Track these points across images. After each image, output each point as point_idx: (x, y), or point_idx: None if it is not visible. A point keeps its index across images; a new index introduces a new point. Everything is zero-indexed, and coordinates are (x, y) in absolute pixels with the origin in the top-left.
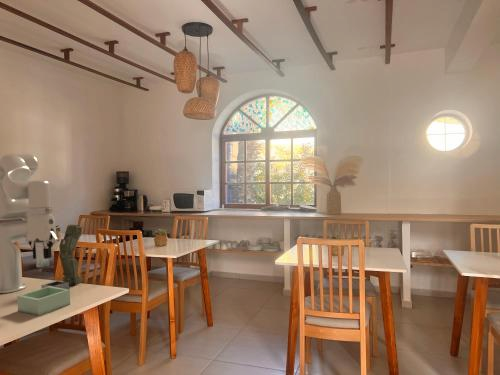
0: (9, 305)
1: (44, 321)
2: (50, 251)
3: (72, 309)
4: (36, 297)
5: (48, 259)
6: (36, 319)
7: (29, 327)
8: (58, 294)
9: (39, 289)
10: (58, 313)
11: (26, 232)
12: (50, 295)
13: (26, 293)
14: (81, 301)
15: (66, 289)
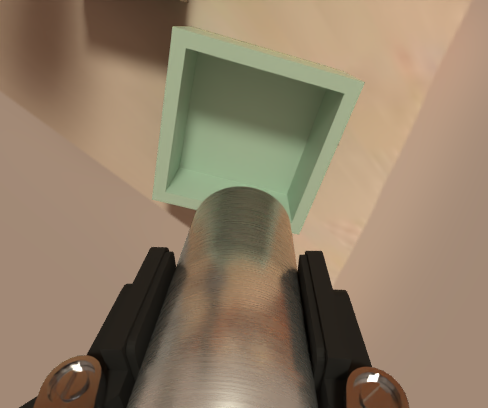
0: (65, 120)
1: (347, 233)
2: (355, 338)
3: (389, 127)
4: (182, 116)
5: (294, 253)
6: (307, 223)
7: (329, 269)
8: (334, 147)
9: (170, 100)
10: (352, 171)
11: None
12: (314, 180)
13: (164, 168)
14: (379, 16)
15: (340, 79)
